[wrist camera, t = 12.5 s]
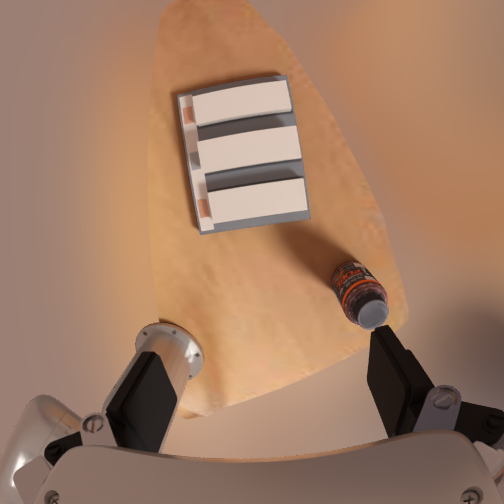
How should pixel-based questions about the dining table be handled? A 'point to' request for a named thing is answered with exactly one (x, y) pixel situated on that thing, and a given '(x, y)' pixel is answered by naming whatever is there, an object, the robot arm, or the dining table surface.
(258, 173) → the switch board
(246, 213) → the switch
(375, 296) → the supplement bottle
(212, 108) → the switch
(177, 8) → the dining table surface
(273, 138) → the middle switch
